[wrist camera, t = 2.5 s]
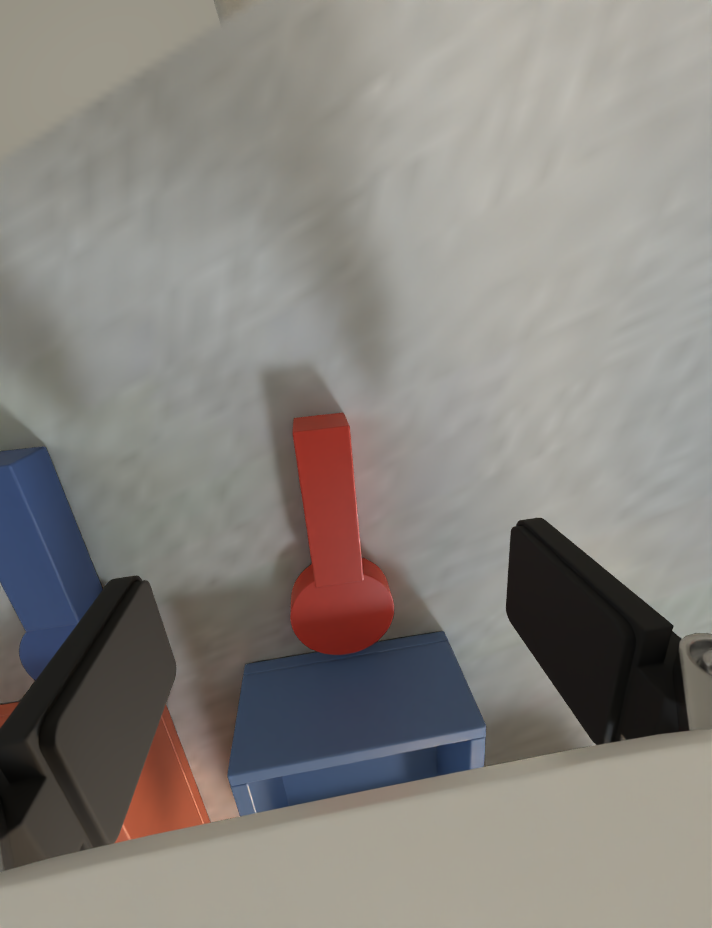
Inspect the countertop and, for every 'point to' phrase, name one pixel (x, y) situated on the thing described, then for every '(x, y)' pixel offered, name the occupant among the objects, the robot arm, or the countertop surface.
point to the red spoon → (334, 547)
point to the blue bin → (352, 723)
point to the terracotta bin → (158, 786)
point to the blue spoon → (41, 556)
